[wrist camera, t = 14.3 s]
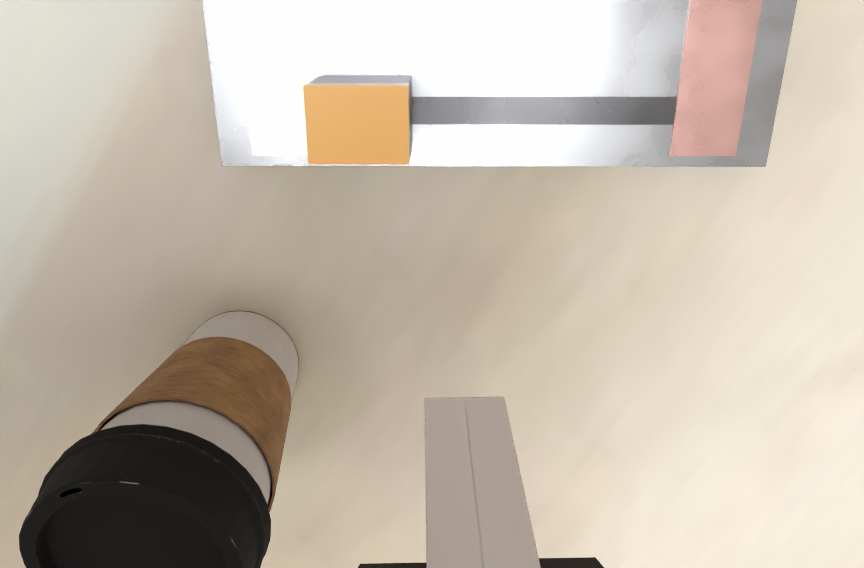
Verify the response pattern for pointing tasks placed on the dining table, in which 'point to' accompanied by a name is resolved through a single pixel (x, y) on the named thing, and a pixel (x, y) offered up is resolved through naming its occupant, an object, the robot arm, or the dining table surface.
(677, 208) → the dining table surface
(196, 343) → the coffee cup
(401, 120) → the block
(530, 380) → the dining table surface
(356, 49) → the panel
